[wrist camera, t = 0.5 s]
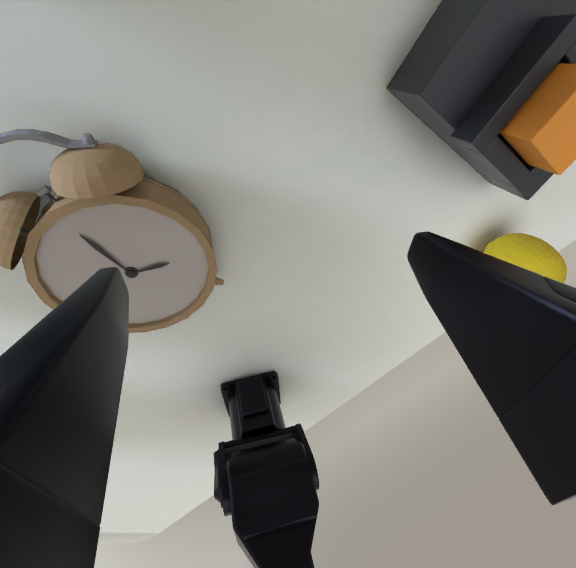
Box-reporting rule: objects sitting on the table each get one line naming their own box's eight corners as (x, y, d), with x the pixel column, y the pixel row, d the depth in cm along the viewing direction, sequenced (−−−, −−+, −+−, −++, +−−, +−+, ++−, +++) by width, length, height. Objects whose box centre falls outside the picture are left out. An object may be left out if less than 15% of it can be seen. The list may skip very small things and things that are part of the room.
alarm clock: (132, 354, 25) (-130, 239, 14) (132, 308, 29) (-82, 186, 17) (248, 283, 24) (62, 94, 13) (235, 244, 27) (76, 65, 16)
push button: (486, 188, 28) (545, 216, 23) (381, 94, 21) (435, 108, 16) (606, 53, 23) (709, 55, 19) (521, -123, 16) (652, -189, 12)
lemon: (523, 224, 32) (603, 267, 26) (490, 269, 35) (554, 317, 29) (485, 215, 30) (563, 259, 24) (453, 264, 33) (515, 314, 27)
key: (527, 164, 21) (559, 176, 19) (497, 131, 19) (531, 141, 17) (582, 104, 19) (623, 111, 17) (555, 62, 17) (599, 64, 15)
